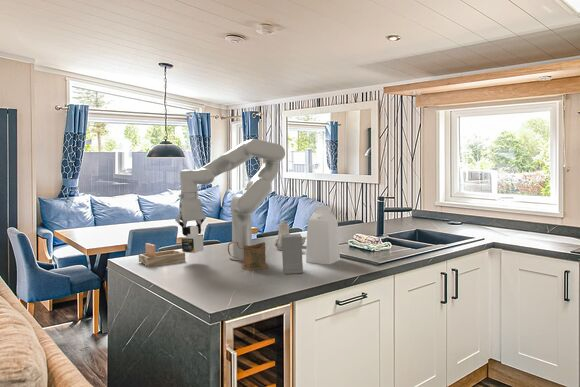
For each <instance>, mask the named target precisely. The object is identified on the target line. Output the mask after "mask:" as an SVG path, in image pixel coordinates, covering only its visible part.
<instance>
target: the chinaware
mask: <svg viewBox="0 0 580 387" xmlns="http://www.w3.org/2000/svg"><path fill="white" fill-rule="evenodd" d="M277 225H278V234H277V237H276V239H275V241H274V243H273V245H274V246H275V247H276V250H277V249H278V250H279V251H282V235H289V234H290V223H287V221H286V220H285V219H282V221H281V222H280V223H278V224H277ZM301 241H302V246H303V245H304V244H305V243H306V241H307V236H302V235H301ZM278 250H277V251H278Z"/></svg>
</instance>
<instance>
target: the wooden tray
mask: <svg viewBox="0 0 580 387" xmlns="http://www.w3.org/2000/svg"><path fill="white" fill-rule="evenodd" d="M139 262H141V263H143V264H145V265H144V266H146V265H147V266H146V267H148V266H150V267H156V266H155V265H157V266H163V265H170V264H176V263H183V262H186V253H183V252H182V251H179V250H176V249H171V250H170V249H169V250H163V251H156V257H147V256H146V253H140V254H138V263H139ZM141 263H140V264H141ZM143 264H142V265H143Z"/></svg>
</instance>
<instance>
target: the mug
mask: <svg viewBox="0 0 580 387" xmlns="http://www.w3.org/2000/svg"><path fill="white" fill-rule="evenodd" d="M236 242H237V246H238V248H240V247H239V245H238V241H234V242H232V241H231V242H228V244H227V252H228V255H229V257H230V256H231V255H232V254H231V252H230V245H231V244H232V243H236ZM243 247H244V248H240V249H244V260H239V259H238V258H237V257H234V256H231V257H234V258H237V259H238V260H237V261H240V262H241V263H243V264H242V265H241V269H243V270H249V271H257V270H264V269H267V268H268V267H269V265H268V264H267V263H266V261H267V259H266V242H264V241H263V242H260V243H256V244H252V245H251V246H243Z"/></svg>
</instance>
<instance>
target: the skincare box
mask: <svg viewBox="0 0 580 387" xmlns="http://www.w3.org/2000/svg"><path fill="white" fill-rule="evenodd" d="M301 236H302V234H301V233H292V234H290V233H289V235H282V250H281V253H282V254H281V256H282V272H283V275H293V274H303V273H304V266H303V248H302V247H303V245H302V241H301Z"/></svg>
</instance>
